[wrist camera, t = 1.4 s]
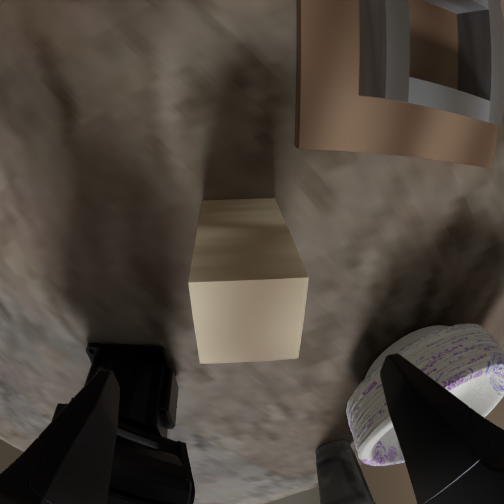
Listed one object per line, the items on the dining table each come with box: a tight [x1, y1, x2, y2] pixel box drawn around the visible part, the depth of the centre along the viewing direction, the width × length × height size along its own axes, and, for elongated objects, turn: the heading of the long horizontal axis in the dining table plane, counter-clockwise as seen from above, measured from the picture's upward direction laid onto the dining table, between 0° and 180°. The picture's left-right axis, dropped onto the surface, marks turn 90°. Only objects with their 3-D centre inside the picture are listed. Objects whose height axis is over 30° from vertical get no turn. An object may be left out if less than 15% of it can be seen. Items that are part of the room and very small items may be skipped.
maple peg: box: [188, 198, 309, 364], centre depth 15 cm, size 4×4×8 cm
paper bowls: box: [346, 324, 504, 466], centre depth 23 cm, size 15×15×8 cm
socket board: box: [295, 0, 504, 169], centre depth 12 cm, size 14×14×4 cm
